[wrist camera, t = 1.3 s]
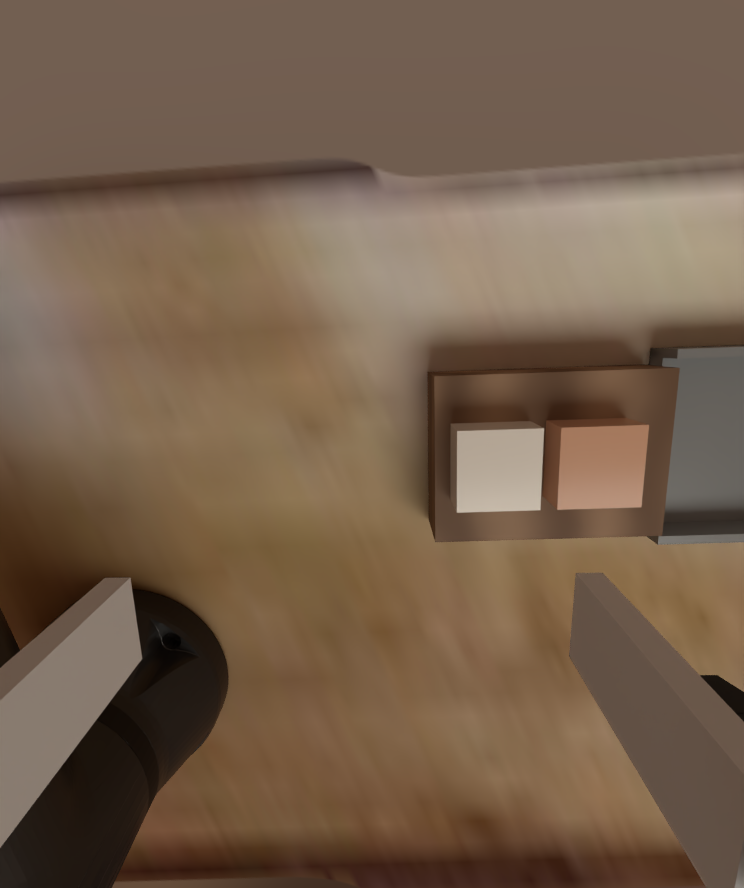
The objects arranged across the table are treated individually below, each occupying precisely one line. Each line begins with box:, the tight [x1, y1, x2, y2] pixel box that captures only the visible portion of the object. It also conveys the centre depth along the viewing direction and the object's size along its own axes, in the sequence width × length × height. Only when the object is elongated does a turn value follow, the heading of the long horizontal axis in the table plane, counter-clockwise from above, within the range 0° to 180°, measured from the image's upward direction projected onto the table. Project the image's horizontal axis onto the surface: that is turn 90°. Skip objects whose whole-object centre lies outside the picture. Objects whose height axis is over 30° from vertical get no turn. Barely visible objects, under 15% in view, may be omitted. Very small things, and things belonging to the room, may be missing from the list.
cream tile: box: [450, 421, 544, 513], centre depth 29 cm, size 5×5×2 cm
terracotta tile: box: [543, 418, 649, 510], centre depth 29 cm, size 5×5×2 cm
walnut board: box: [428, 365, 680, 542], centre depth 32 cm, size 15×11×4 cm
